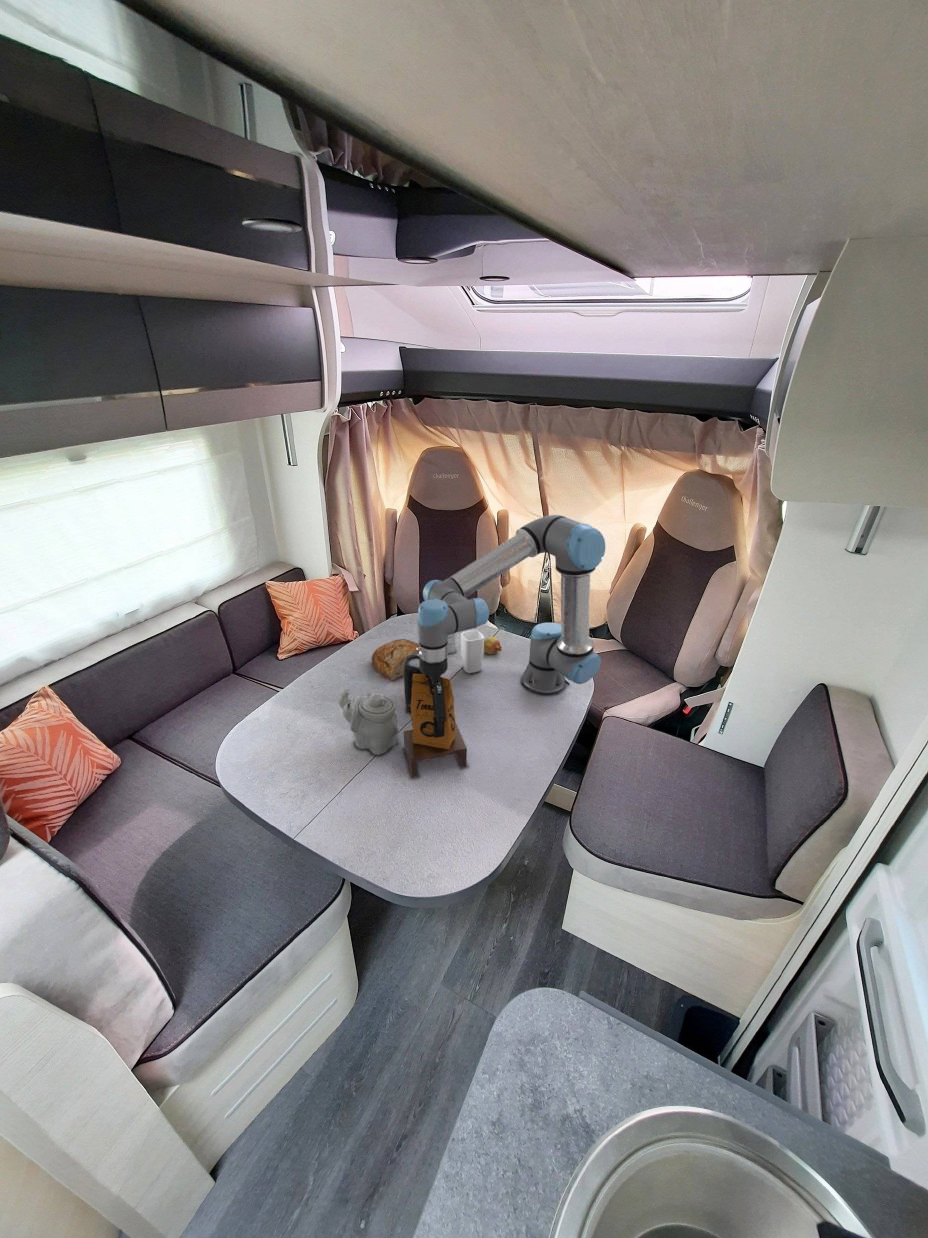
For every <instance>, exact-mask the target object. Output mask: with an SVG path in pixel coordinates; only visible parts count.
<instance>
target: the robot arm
mask: <svg viewBox="0 0 928 1238" xmlns="http://www.w3.org/2000/svg"><path fill="white" fill-rule="evenodd" d="M605 553H606V540H605V537H604V535H603V534H602V532H601V531H600V530H598V528H595V527H593V526H592V525H590V524H588V523H583V522H580V521H578V520H573V519H571V518H570V517H567V516H564V515H561V514H550V515H546V516H542V517H540V518H537V519H534V520H532V521H530V522H528V523H526V524H524V525H522V526H521V527H520V528H518V529H517V530H516V531H515V534H514V535H513V536H512V537H510V538H508V539H507V540H505V541H504V542H502V543H500V544H499V545H497V546H496V547H494V548H493V549H492V550H490V551H488V552H487V553H485V554H483V555H482V556H479V558H477V559H475V560H474V561H472V562H471V563H469V564H467V565H466V566H465V567H464V568H461V569H459V571H457V572H455V573H454V574H452V575H451V576H449V577H448V578H446V579H444V580H439V579H432V580H430V581H428V582H427V583H426V584H425V586H424V587H423V590H422V597H423V600H424V601H422V602H421V603H420V604H419V606H418V611H417V619H416V620H417V627H418V645H419V647H418V648H417V651H419V656H420V657H419V669H420V671H421V672H422V673H423V674H425V676H426V678H428V679H427V683H428V685H429V691H430V694H431V695H432V700H433V707H434V714H435V717H434V718H432V720H433V721H434V738H437V737H443V736H444V721H447V718H446V709H445V698H444V685H442V682H443V681H442V677H443V676H442V675H443V674H445V673H446V672H447V670H448V665H449V664H448V662H449V661H448V660H449V659H448V657H449V656H448V655H449V653H448V635H450V634H454V633H455V634H456V633H460V632H465V631H469V630H471V629H472V630H473V629H476V628H477V627H481V626H483V625H485V624H487V622H488V621H489V617H490V612H489V611H490V610H489V607H488V604H487V603H486V601H485V600H484V599H483V598H482V597H475V598H474V597H472V598H470V599H468V597H469V596H471V595H472V594H474V593H476V592H477V591H478V590H480V589H482V588H483V587H485V586H486V585H488V584H489V583H490V582H492V581H493V580H495V579H497V578H498V577H500V576H501V575H503V574H505V573H506V572H508V571H509V570H511V569H512V568H513V567H515V566H517V565H518V564H520V563H521V562H523V561H524V560H526V559H528V558H535V557H536V556H539V555H540V554H549V555H551V556H553V557H554V559H555V563H554V564H555V571H556V572H557V573H558V574H560V612H561V613H560V619H561V620H560V621H561V623H558V622H542V623H539V624H536V625H534V626H533V628H532V629H531V635H530V643H529V645H530V646H529V657H528V663H527V666H526V667H525V670H524V671H523V674H522V679H521V681H522V684H523V687H525V688H526V689H527V690H529V691H530V692H532V693H535V694H539V695H555V694H558V693H560V692H562V691H563V689H564V688H565V684H566V685H567V686H570V682H569V681H571V682H573V683H574V684H577V685H582V684H585V683H587V682H589V681H591V679H592V678H594V676H595V675H596V674H597V673H598V672H599V670H600V667H601V664H602V660H601V659H602V658H601V657H600V656H599V654H597V653H595V651H594V645H595V644H594V640H593V638H591V637H590V611H591V610H590V609H591V608H590V605H591V574H593V572H595V570H596V569H597V567H598V566H599V565H600V563H601V562H602V560H603V559H602V558H604V556H605ZM565 678H566V679H567V680H568V681H567V680H566V679H565ZM432 690H434V691H432Z"/></svg>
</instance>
